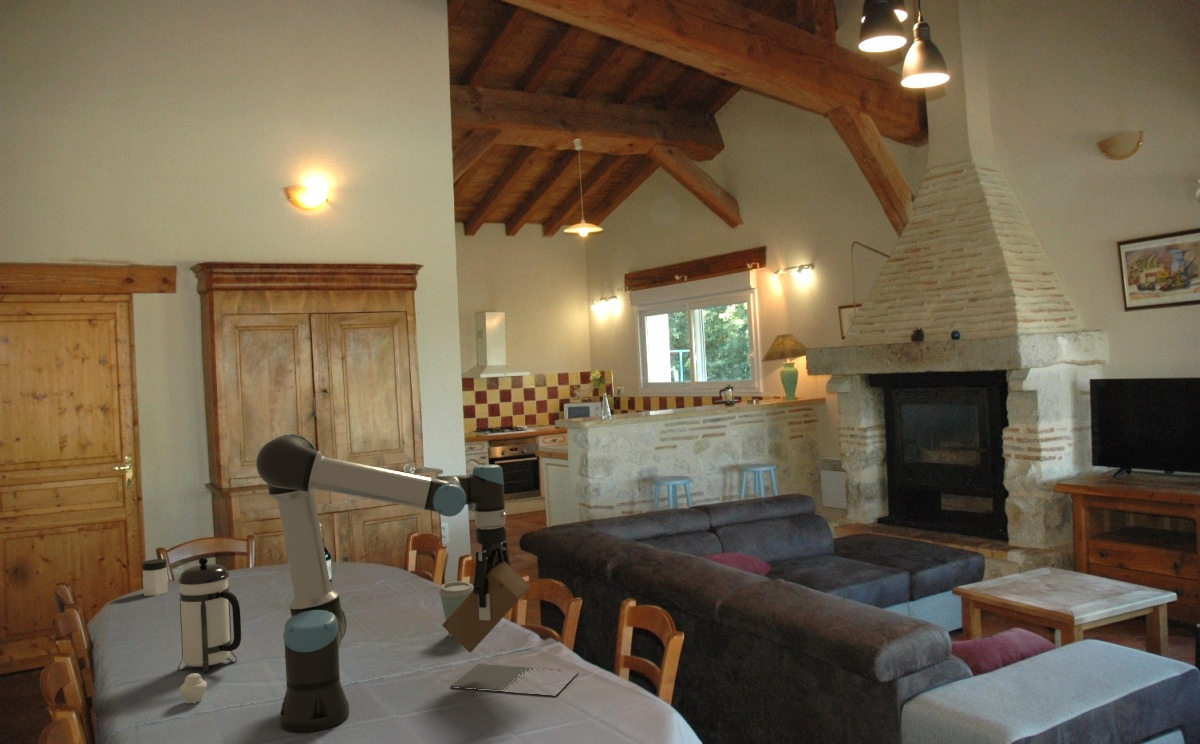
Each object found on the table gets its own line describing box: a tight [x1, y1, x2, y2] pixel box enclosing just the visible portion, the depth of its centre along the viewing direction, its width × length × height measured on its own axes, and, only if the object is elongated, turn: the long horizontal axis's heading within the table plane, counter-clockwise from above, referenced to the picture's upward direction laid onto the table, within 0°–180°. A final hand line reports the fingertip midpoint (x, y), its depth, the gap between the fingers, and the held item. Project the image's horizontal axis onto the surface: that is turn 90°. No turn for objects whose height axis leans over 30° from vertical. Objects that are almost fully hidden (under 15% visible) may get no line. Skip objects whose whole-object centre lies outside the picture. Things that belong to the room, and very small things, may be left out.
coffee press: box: [177, 556, 242, 674], centre depth 242 cm, size 17×16×30 cm
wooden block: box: [442, 561, 531, 653], centre depth 222 cm, size 10×10×20 cm
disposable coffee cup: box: [438, 580, 474, 638], centre depth 261 cm, size 11×11×15 cm
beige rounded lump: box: [179, 672, 208, 704], centre depth 215 cm, size 6×6×7 cm
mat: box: [449, 663, 558, 690], centre depth 220 cm, size 16×28×1 cm, turn 72°
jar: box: [141, 558, 168, 597], centre depth 328 cm, size 9×8×12 cm
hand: (494, 613), depth 222 cm, fingers closed on wooden block, 11 cm apart
